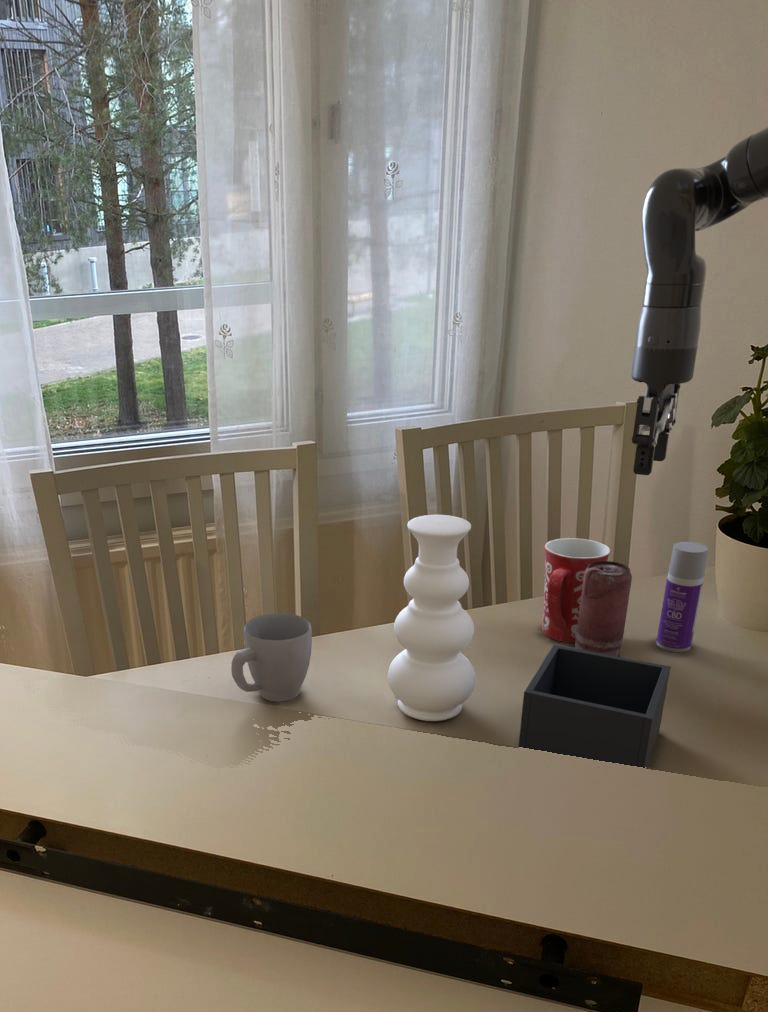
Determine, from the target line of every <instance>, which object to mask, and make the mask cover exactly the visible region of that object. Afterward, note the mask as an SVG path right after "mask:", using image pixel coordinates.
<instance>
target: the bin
mask: <svg viewBox="0 0 768 1012" xmlns="http://www.w3.org/2000/svg"><path fill="white" fill-rule="evenodd" d="M671 668H672V667H671V666H670V665H666V664H660V663H654V662H649V661H643V660H639V659H633V658H628V657H623V656H620V657H618V656H612V655H607V654H601V653H596V652H591V651H585V650H580V649H575V647H569V646H563V645H559V644H553V645H552V647H551V648H550V650H549V651H548V652H547V654H546V656H545V658H544V659H543V661H542V662H541V664H540V666H539V667H538V669H537V671H536V672H535V673H534V675H533V677H532V679H531V680H530V682H529V683H528V685H527V686H526V688H525V690H524V692H523V699H522V708H521V709H522V710H521V719H520V729H519V739H518V747H523V748H529V749H534V750H541V751H547V752H552V753H557V754H563V755H570V756H576V757H582V758H587V759H593V760H599V761H605V762H612V763H619V764H624V765H630V766H637V767H643V768H645V767H647V769H648V768H649V765H650V762H651V759H652V755H653V752H654V749H655V746H656V743H657V740H658V737H659V734H660V729H661V723H662V718H663V713H664V707H665V701H666V697H667V696H666V695H667V690H668V686H669V685H668V684H669V679H670V674H671Z"/></svg>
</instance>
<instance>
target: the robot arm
mask: <svg viewBox="0 0 768 1012" xmlns="http://www.w3.org/2000/svg"><path fill="white" fill-rule="evenodd" d="M765 199H768V126H767V127H765V128H763V129H761V130H758V131H757V132H755V133H753V134H750V135H749V136H747V137H745V138H743V139H742V140H740V141H738V142H736V144H734V145H733V146H732V147H731V148H730V149H729V150H728V152H727V154H726V155H725V156H723V157H721V158H720V159H718V160H716V161H713V162H712V163H709V164H707V165H704V166H701V167H699V168H698V167H697V168H693V167H692V168H691V167H689V168H686V167H684V168H683V167H677V168H676V167H675V168H671V169H668V170H666V171H663V172H662V173H660V174H658V176H656V177H655V179H654V180H653V181H652V183H651V184H650V185H649V187H648V189H647V191H646V194H645V197H644V200H643V204H642V210H641V233H642V246H643V256H644V262H645V267H646V272H645V279H644V286H643V294H642V303H641V309H640V310H641V311H640V314H639V316H638V317H639V318H638V321H637V326H636V334H635V342H634V349H633V360H632V367H631V375H630V377H631V378H632V380H633V381H635V382H638V383H644V384H646V388H645V393H644V395H638V398H637V400H636V411H635V418H634V425H633V433H632V437H631V443H632V444H634V446H635V455H634V463H633V473H634V474H635V475H639V476H649V475H651V473H652V472H653V465H654V461H655V462H663V461H665V459H666V458H667V451H668V444H669V437H670V434H671V432H672V431H673V426H675V424H676V423H677V419H676V418H677V409H678V403H679V395H680V389H681V385H682V384H686V383H690V382H691V381H692V380H693V378H694V372H695V365H696V359H697V353H698V345H699V339H700V333H701V325H702V304H703V297H704V291H705V284H706V276H707V262H706V260H705V258H704V257H702V256H701V255H698V254H697V251H696V232H699V231H703V230H706V229H709V228H711V227H713V226H715V225H718V224H721V223H722V222H724V221H727V220H728V219H729V218H732V217H733V216H735V215H737V214H738V213H740V212H741V211H743V210H745V209H747V208H748V207H749V206H751V205H753V204H754V203H757V202H760V201H764V200H765ZM644 432H648V434H644Z"/></svg>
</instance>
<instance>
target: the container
mask: <svg viewBox="0 0 768 1012" xmlns="http://www.w3.org/2000/svg"><path fill="white" fill-rule="evenodd" d="M708 554H709V547H708V546H707V545H705V544H702V543H700V542H694V541H679V542H676V543H674V544H673V547H672V552H671V556H670V561H669V567H668V572H667V578H666V583H665V588H664V594H663V601H662V606H661V612H660V618H659V624H658V630H657V636H656V645H657V647H658V648H660V649H662V650H665V651H667V652H673V653H684V652H688V651H690V650H691V649H692V643H693V639H694V633H695V629H696V622H697V617H698V613H699V608H700V601H701V596H702V592H703V591H702V590H703V586H704V580H705V573H706V567H707V566H706V565H707V560H708Z"/></svg>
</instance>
